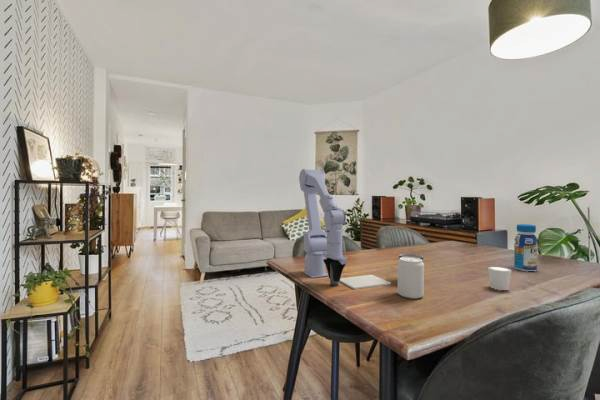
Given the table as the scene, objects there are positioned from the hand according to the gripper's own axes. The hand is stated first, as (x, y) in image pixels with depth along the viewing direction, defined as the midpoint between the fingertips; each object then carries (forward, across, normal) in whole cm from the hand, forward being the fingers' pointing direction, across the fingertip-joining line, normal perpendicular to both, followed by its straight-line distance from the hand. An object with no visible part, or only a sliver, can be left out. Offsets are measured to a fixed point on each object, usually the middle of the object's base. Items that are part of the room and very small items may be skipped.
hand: (334, 279), depth 109 cm
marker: (+2, 0, 0) cm, 2 cm away
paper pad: (+2, +1, +12) cm, 12 cm away
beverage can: (+2, +19, +18) cm, 26 cm away
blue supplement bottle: (+2, +12, +90) cm, 91 cm away
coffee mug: (+2, +6, +30) cm, 31 cm away
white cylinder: (+2, +25, +53) cm, 59 cm away
